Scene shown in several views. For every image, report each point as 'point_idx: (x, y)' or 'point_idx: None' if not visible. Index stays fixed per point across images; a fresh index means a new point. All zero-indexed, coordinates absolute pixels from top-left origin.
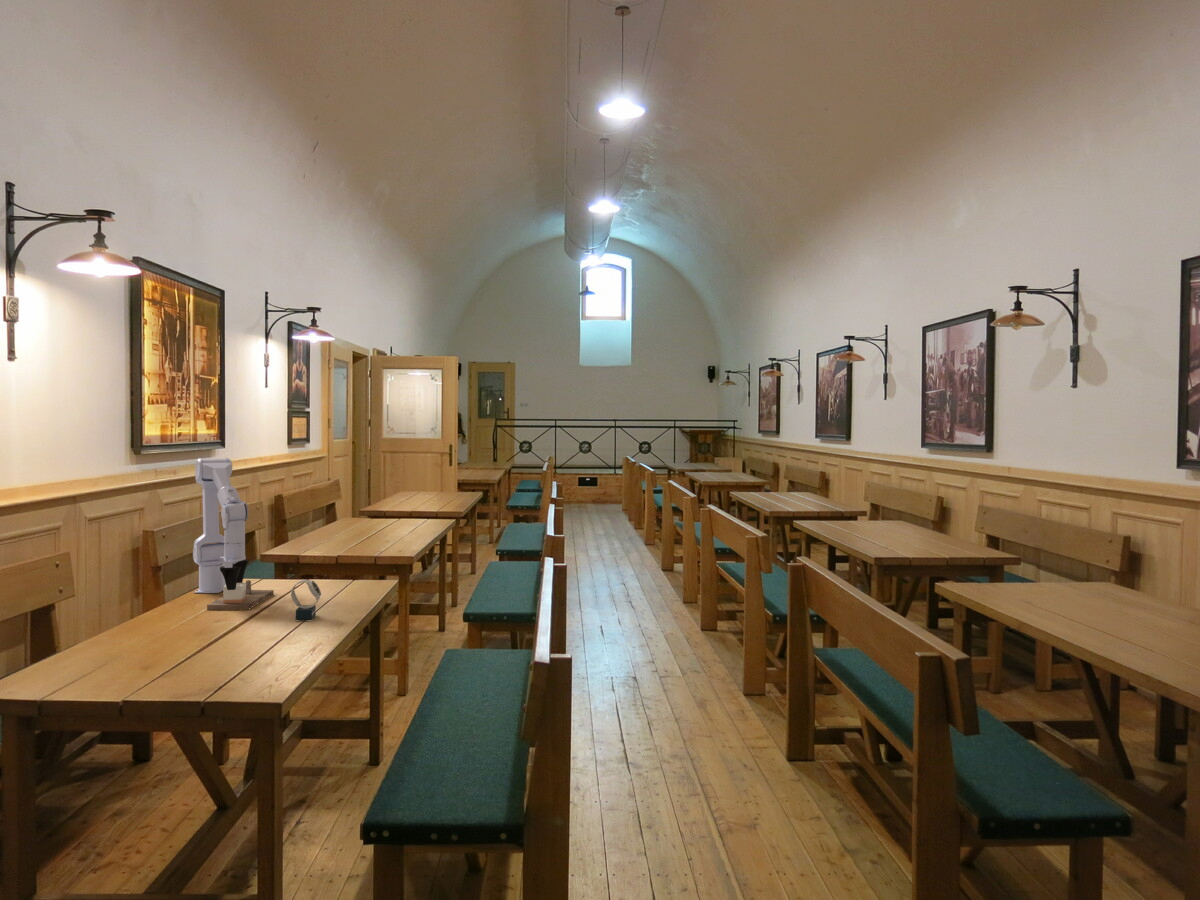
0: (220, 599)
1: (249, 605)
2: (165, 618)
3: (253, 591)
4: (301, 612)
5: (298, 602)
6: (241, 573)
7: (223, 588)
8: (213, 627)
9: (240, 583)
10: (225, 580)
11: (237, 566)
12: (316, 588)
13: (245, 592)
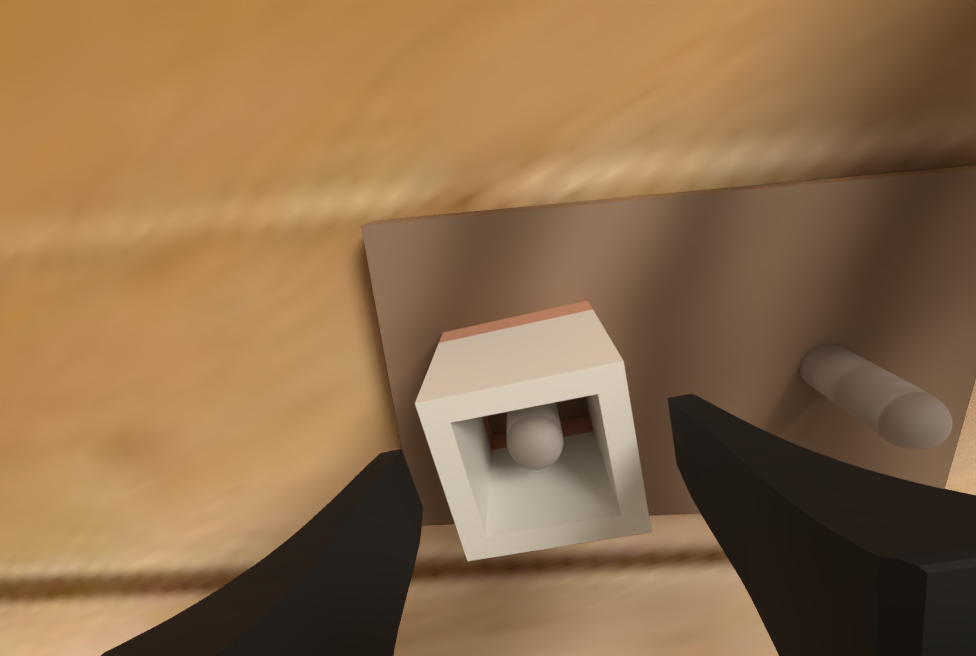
0: (576, 236)
1: (440, 517)
2: (30, 19)
3: (911, 371)
4: None
5: None
6: (748, 566)
7: (418, 394)
8: (6, 489)
9: (616, 497)
10: (310, 527)
11: (813, 637)
12: None
13: (874, 322)
